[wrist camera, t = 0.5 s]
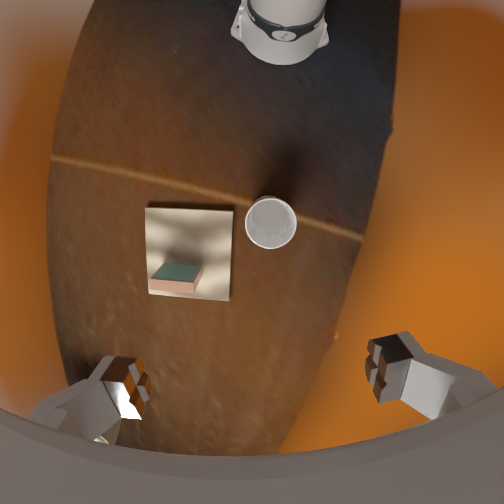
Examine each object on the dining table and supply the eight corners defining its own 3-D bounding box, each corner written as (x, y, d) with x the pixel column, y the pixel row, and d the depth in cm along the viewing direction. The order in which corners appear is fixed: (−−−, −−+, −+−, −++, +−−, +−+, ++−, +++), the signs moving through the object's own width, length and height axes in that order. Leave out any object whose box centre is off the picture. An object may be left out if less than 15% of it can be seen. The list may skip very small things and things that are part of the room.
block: (162, 262, 55) (149, 277, 47) (202, 265, 55) (193, 281, 47) (163, 273, 56) (150, 289, 48) (201, 276, 56) (193, 293, 48)
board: (147, 207, 53) (145, 207, 52) (233, 210, 53) (232, 211, 52) (150, 291, 58) (149, 293, 57) (229, 298, 58) (228, 301, 57)
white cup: (239, 204, 53) (235, 213, 43) (277, 184, 51) (281, 188, 42) (259, 240, 55) (260, 257, 45) (296, 221, 53) (305, 234, 44)
